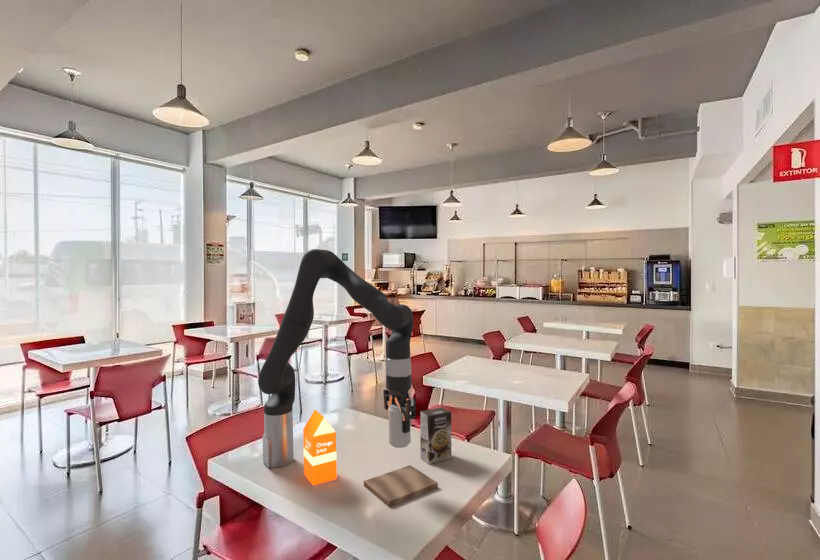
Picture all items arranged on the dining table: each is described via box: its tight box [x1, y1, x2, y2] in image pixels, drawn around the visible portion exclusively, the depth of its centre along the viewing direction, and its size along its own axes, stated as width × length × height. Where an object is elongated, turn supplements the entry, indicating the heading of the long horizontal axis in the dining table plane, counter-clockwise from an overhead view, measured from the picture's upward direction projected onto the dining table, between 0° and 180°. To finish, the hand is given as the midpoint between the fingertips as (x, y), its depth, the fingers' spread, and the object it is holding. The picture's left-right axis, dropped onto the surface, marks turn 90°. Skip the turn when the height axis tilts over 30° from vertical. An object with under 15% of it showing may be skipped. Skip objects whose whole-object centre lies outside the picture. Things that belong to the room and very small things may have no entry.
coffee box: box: [419, 407, 453, 465], centre depth 142 cm, size 9×6×16 cm
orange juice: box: [302, 409, 338, 486], centre depth 130 cm, size 8×9×20 cm
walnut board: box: [363, 464, 439, 508], centre depth 123 cm, size 17×14×2 cm
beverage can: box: [387, 404, 412, 449], centre depth 123 cm, size 6×6×12 cm
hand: (399, 428), depth 123 cm, fingers closed on beverage can, 6 cm apart
